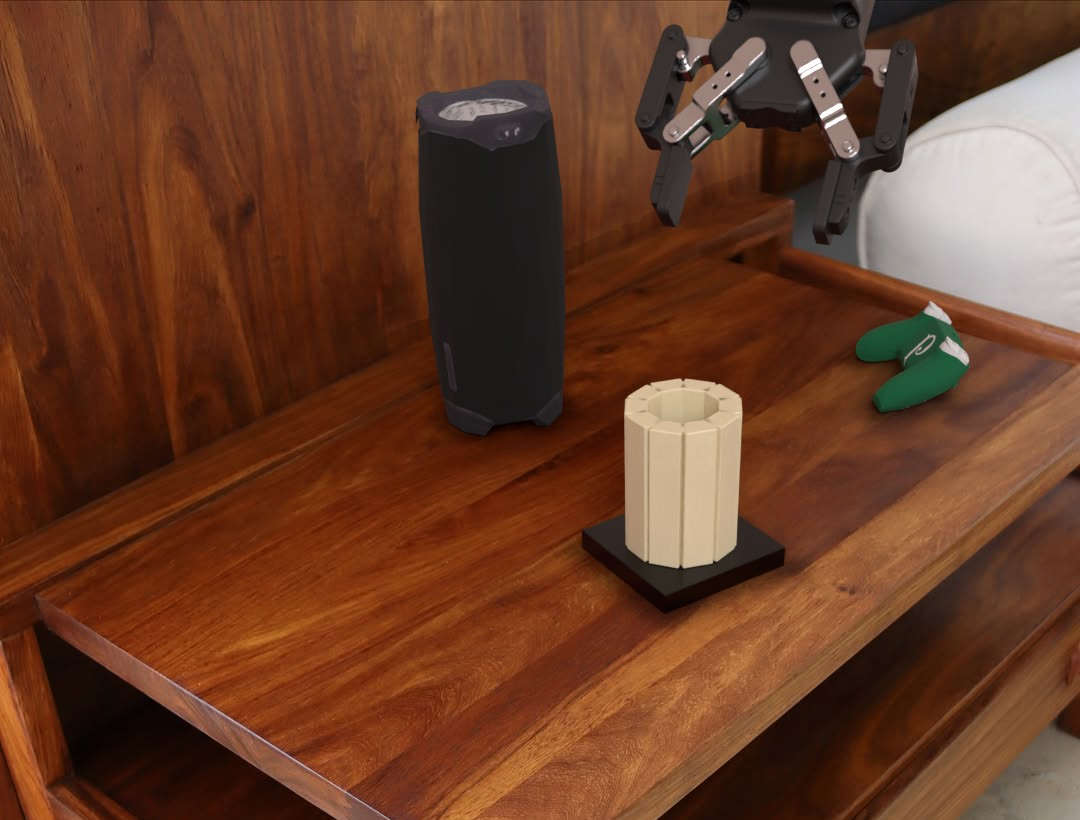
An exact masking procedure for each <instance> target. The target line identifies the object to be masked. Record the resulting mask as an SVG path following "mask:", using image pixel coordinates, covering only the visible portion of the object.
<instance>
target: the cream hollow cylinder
mask: <svg viewBox="0 0 1080 820" xmlns="http://www.w3.org/2000/svg"><path fill="white" fill-rule="evenodd" d="M623 411H624V413H623V414H624V415H623V417H624V419H623V420H624V428H623V430H624V511H625V512H624V514H625V536H626V546H627V548H628V549H629V550H630V551H631V552H633V553H634V554H635V555H637V556H638V557H639V558H640V559H642V560H643V561H644V562H646V561H648V560H649V563H650V564H655V565H661V566H667V567H672V568H679V566H680V565H681V566H682V567H683V568H690V567H696V566H701V565H707V564H712V563H713V561H716V562H718V561H719V560H720V559H722V558H723V557H724V556H725V555H727V554H728V553H729V552H731V551H732V550H733V549H734V548H735V546H736V541H737V520H738V515H739V498H740V497H739V495H740V473H741V456H742V455H741V453H742V434H743V433H742V432H743V403H742V397H740V394H738V393H736V392H734V391H733V390H732V389H729V388H728V387H726V386H725V385H723V384H721V383H718V384H716V382H712V381H708V380H707V381H706V380H700V379H699V380H698V379H691V378H685V379H684V380H682V378H673V379H667V380H662V381H655V382H650V384H645V385H643V386H642V387H640V388H639V389H636V390H635V391H633V392H632V393H630V394H629V395H628V396H627V397H626V398H625V399H624V410H623Z"/></svg>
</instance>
